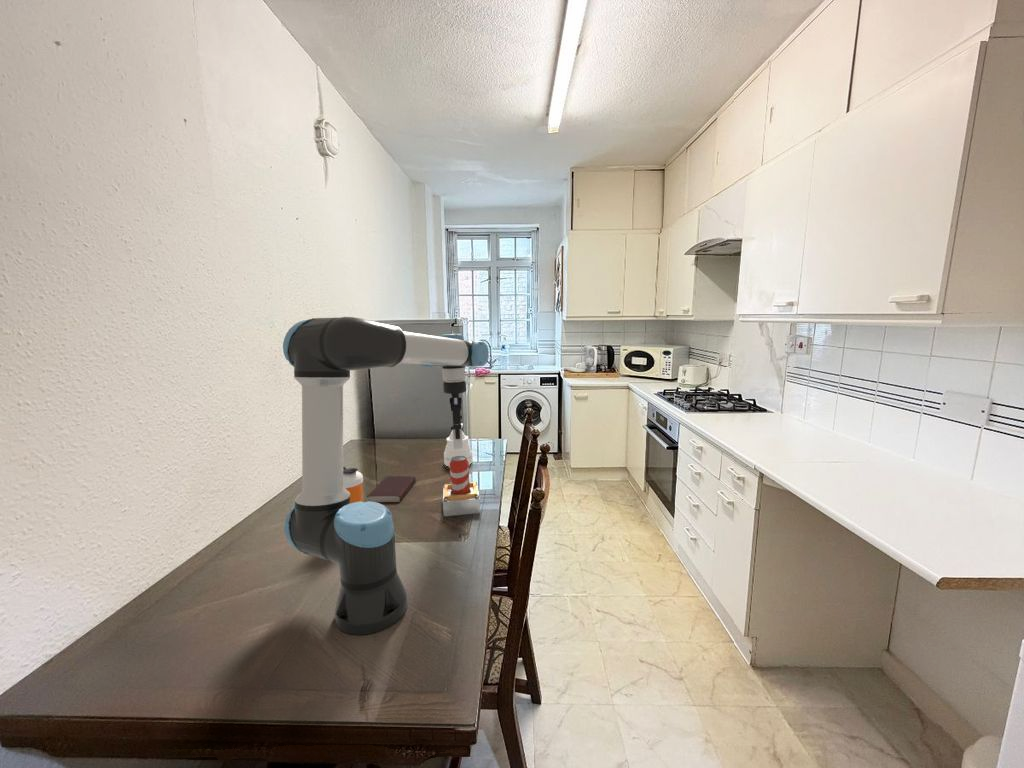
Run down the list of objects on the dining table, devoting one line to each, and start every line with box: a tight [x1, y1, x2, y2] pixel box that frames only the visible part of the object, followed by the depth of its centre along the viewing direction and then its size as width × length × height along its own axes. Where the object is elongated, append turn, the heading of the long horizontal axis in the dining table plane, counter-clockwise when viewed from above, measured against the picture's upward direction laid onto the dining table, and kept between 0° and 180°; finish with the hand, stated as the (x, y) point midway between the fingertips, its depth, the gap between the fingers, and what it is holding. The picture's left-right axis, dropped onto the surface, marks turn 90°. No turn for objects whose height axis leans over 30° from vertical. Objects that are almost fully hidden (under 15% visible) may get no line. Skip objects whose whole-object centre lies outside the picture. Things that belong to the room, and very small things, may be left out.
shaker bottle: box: [343, 466, 364, 504], centre depth 129 cm, size 9×9×20 cm
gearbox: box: [442, 481, 481, 517], centre depth 146 cm, size 14×12×6 cm
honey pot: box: [443, 422, 474, 468], centre depth 191 cm, size 13×13×18 cm
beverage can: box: [449, 456, 470, 494], centre depth 145 cm, size 6×6×12 cm
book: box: [366, 475, 416, 503], centre depth 161 cm, size 12×19×3 cm, turn 176°
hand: (457, 442), depth 143 cm, fingers open, 13 cm apart
